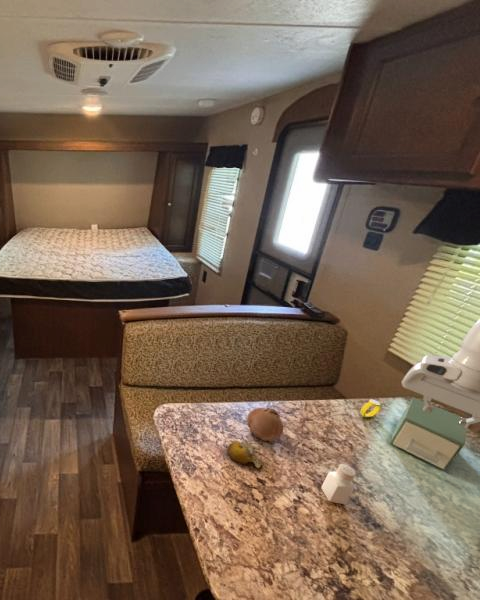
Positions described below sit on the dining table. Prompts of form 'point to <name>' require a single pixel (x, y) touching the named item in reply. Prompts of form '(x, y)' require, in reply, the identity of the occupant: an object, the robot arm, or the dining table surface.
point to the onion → (265, 423)
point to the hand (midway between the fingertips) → (443, 418)
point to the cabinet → (433, 424)
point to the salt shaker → (339, 484)
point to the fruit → (242, 453)
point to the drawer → (426, 444)
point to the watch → (368, 405)
